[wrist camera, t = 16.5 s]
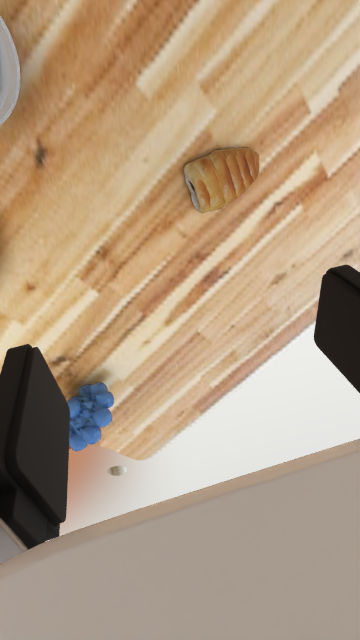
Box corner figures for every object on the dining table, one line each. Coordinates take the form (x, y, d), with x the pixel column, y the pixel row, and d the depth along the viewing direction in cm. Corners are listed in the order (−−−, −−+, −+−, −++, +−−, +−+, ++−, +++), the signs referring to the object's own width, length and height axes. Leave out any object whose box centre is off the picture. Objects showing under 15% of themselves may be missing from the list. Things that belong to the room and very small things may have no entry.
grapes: (88, 354, 53) (89, 413, 43) (120, 372, 57) (127, 430, 47) (43, 397, 56) (34, 461, 46) (76, 412, 59) (74, 473, 50)
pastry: (247, 130, 40) (261, 133, 37) (259, 183, 44) (273, 191, 41) (177, 165, 40) (185, 172, 37) (196, 215, 44) (204, 224, 41)
